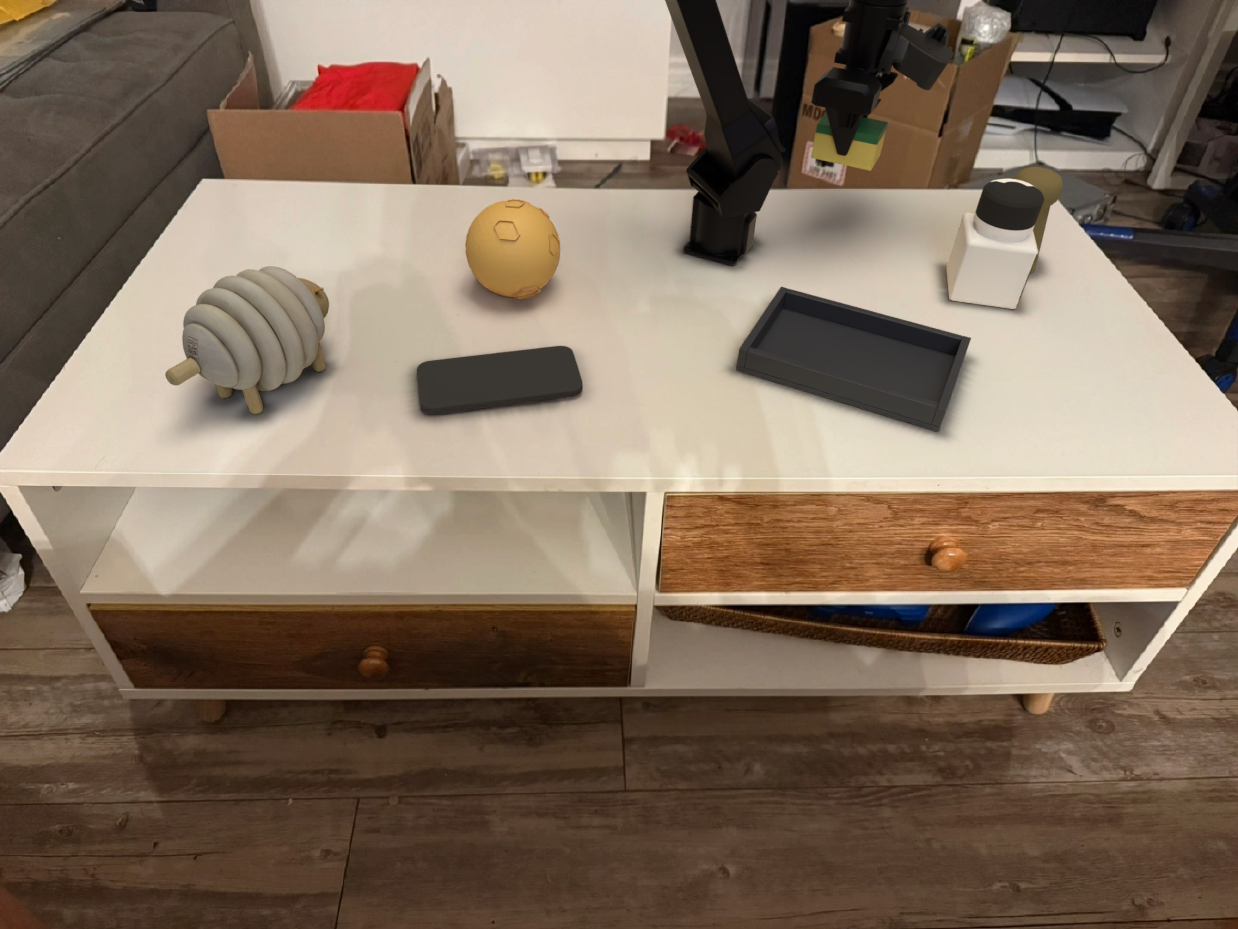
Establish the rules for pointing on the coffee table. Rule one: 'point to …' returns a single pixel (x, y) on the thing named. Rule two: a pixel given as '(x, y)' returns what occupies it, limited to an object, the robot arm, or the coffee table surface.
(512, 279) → the stress ball
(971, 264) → the medicine bottle
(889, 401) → the tray
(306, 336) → the toy sheep
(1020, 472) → the coffee table surface
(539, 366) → the phone
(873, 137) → the sponge
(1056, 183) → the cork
